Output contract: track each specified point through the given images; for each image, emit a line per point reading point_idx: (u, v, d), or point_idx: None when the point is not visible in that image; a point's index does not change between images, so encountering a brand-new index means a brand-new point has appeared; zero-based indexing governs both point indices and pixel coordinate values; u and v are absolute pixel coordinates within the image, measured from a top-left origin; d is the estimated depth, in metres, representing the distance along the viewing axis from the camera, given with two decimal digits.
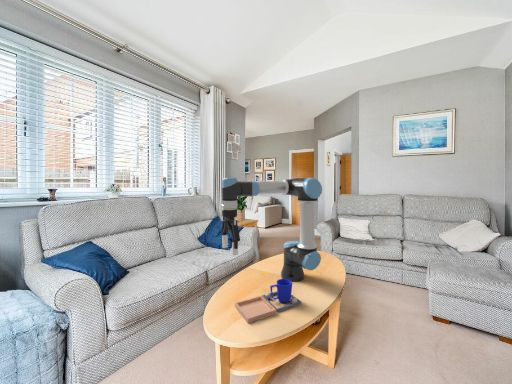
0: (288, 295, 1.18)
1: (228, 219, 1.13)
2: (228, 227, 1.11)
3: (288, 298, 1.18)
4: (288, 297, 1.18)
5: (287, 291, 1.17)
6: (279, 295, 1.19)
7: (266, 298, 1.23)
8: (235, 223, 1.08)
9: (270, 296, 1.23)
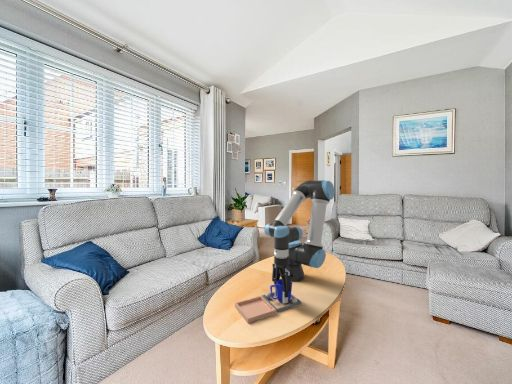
0: (288, 295, 1.18)
1: (281, 265, 1.18)
2: (280, 275, 1.17)
3: (288, 298, 1.18)
4: (288, 297, 1.18)
5: None
6: (279, 295, 1.19)
7: (266, 298, 1.23)
8: (289, 274, 1.14)
9: (270, 296, 1.23)
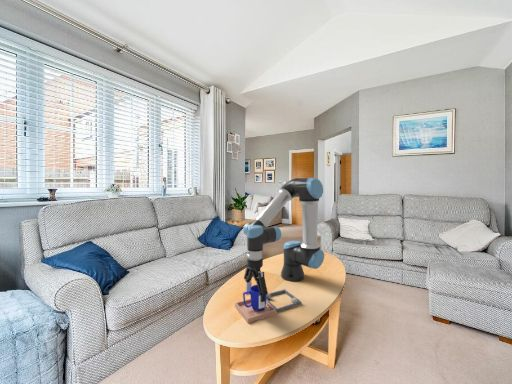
0: None
1: (254, 269, 1.10)
2: (254, 278, 1.08)
3: None
4: None
5: None
6: (252, 302, 1.11)
7: (266, 298, 1.23)
8: (262, 275, 1.05)
9: (270, 296, 1.23)
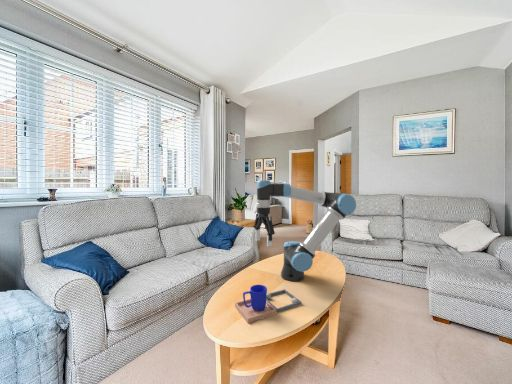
0: (262, 303, 1.10)
1: (262, 215, 1.31)
2: (263, 222, 1.30)
3: (262, 306, 1.10)
4: (262, 305, 1.10)
5: (260, 298, 1.09)
6: (252, 302, 1.11)
7: (266, 298, 1.23)
8: (270, 219, 1.27)
9: (270, 296, 1.23)
